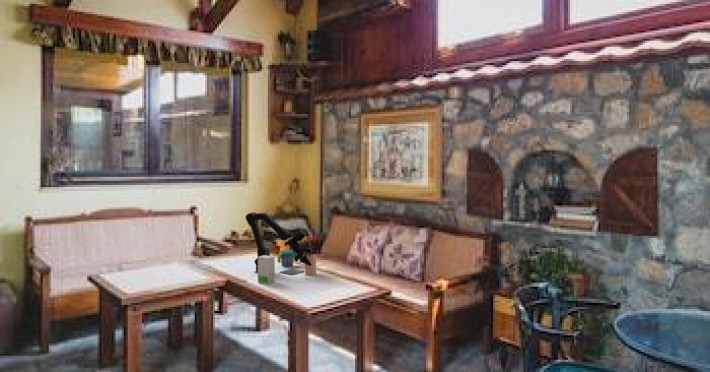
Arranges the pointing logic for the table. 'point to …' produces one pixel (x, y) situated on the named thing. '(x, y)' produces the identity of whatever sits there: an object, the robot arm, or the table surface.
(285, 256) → the snack cup
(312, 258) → the tan rectangular block
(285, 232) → the robot arm
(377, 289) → the table surface
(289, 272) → the slate coaster
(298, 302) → the table surface
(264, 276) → the skincare box
